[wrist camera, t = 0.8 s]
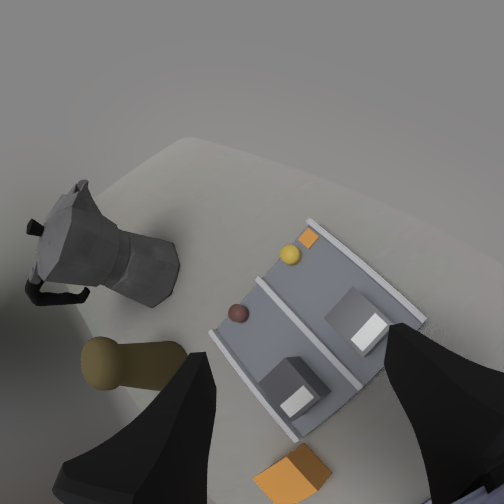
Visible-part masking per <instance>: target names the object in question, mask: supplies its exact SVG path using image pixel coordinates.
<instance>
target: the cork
mask: <svg viewBox="0 0 504 504" xmlns="http://www.w3.org/2000/svg"><path fill="white" fill-rule="evenodd" d="M186 358H187V354H186V351H185V350H184V349H183V348H182V346H181V345H179V344H178V343H176V342H173V341H163V342H149V343H133V344H118V343H117V342H115V341H114V340H112V339H110V338H106V337H101V336H100V337H95V338H92V339H90V340H88V341H87V342H86V344H85V345H84V348H83V350H82V354H81V369H82V373H83V375H84V378H85V380H86V381H87V383H88V384H89V385H91V386H92V387H94V388H95V389H98V390H113V389H116V388H117V387H118V386H127V387H133V388H141V389H149V390H157V391H162V390H163V388H164V387H165V386H166V385H167V383H168V382H169V381H170V379H171V378H172V377H173V376H174V374H175V373H176V372H177V370H178V369H179V367H180V366H181V365H182V363H183V362H184V361H185V359H186Z"/></svg>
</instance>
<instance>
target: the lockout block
mask: <svg viewBox="0 0 504 504" xmlns="http://www.w3.org/2000/svg"><path fill="white" fill-rule="evenodd" d="M331 474H332V472H331V471H330V470H329V469H328V468H327V467H326V466H325V465H324V464H323V463H322V462H321V461H320V459H319V458H318V457H317V456H316V455H315V454H314V453H313V452H312V451H311V450H310V449H309V447H308V446H307V445H306V444H305V443H303V444H302V445H301V446H299V447H298V448H296V449H295V450H294V451H292V452H291V453H289V454H288V455H286V456H285V457H283V458H282V459H280V460H279V461H277V462H276V463H274V464H273V465H271V466H270V467H268V468H267V469H266V470H264V471H263V472H261V473H260V474H258V475H257V476H255V477H253V478H252V479H253V480H254V481H255V482H256V483H257V484H258V486H259V487H260V488H261V489H262V490H263V491H264V493H265V494H266V495H267V496H268V497H269V498H270V499H271V500H272V502H273V503H274V504H296V503H298V502H299V501H301V500H303V499H305V498H307V497H309V496H310V495H312V494H314V493H316V492H317V491H319V489H320V488H321V487H322V485H323V484H324V483H325V482H326V480H327V479H328V478H329V476H330V475H331Z"/></svg>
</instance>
